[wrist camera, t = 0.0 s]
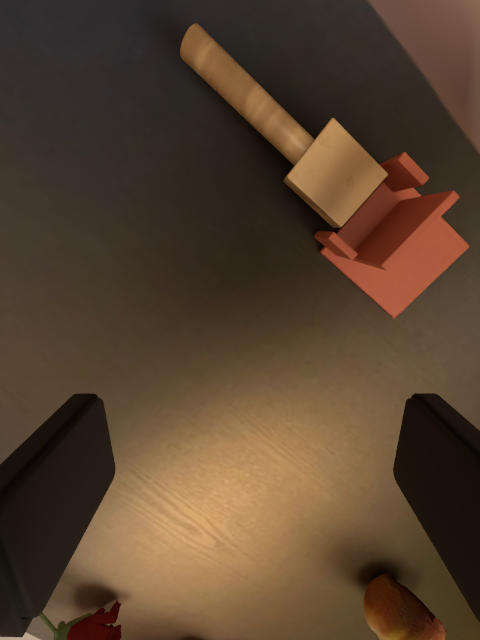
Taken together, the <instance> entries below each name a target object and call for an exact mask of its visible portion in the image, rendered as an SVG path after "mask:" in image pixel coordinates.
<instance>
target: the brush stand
mask: <svg viewBox="0 0 480 640" xmlns="http://www.w3.org/2000/svg"><path fill="white" fill-rule="evenodd" d="M379 165H380V166H381V167H382V168H383V169H384V170H385V171H386V172H387V173H388V176H387V177H386V178H385V179H384V180H383V181H382V182H381V183H380V185H379V186H378V187H377V188H376V189H375V190H374V191H373V193H372V194H371V195H370V196H369V197H368V198H367V199H366V200H365V202H364V203H363V204H362V205H361V206H360V207H359V208H358V209H357V211H356V212H355V213H354V214H353V215H352V216H351V217H350V218H349V220H348V221H347V222H346V223H345V224H344V225H343V226H342V227H341V228H340V229H339V230H338V231H337V232H336V233H335V232H327V231H318V232H317V234H316V235H315V236H314V237H315V238H316V239H317V240H318V241H319V242H320V243H321V244H322V245H323V246H324V247H323V248H322V249H321V250H320V253H321V254H322V255H323V256H324V257H325V258H327V259H328V260H329V261H330V262H331V263H332V264H333V265H334V266H336V267H337V268H338V269H339V270H340V271H341V272H342V273H343V274H344V275H346V276H347V277H348V278H349V279H350V280H351V281H352V282H353V283H354V284H356V285H357V286H358V287H359V288H360V289H361V290H362V291H363V292H365V293H366V294H367V295H368V296H369V297H370V298H371V299H372V300H373V301H375V302H376V303H377V304H378V305H379V306H380V307H381V308H382V309H383V310H385V311H386V312H387V313H388V314H389V315H390V316H391V317H393V318H395V317H396V316H397V315H398V314H399V313H400V312H402V311H403V310H404V309H405V308H406V307H407V306H408V305H409V304H410V303H411V302H412V301H413V300H414V299H415V298H416V297H417V296H418V295H419V294H420V293H421V292H422V291H424V290H425V289H426V288H427V287H428V286H429V285H430V284H431V283H432V282H433V281H434V280H435V279H436V278H437V277H438V276H439V275H440V274H441V273H442V272H443V271H444V270H446V269H447V268H448V267H449V266H450V265H451V264H452V263H453V262H454V261H455V260H456V259H457V258H458V257H459V256H460V255H461V254H462V253H463V252H464V251H465V250H466V249H467V248H469V245H468V244H467V243H466V242H465V241H464V240H463V239H462V238H461V237H460V236H459V235H458V234H457V233H456V232H455V230H454V229H453V228H452V227H451V226H450V225H449V224H448V223H447V222H446V221H445V220H444V219H443V218H442V217H441V216H442V215H443V214H444V213H445V212H446V211H447V210H448V209H449V208H450V207H451V206H452V205H453V204H454V203H455V201H456V200H457V199H458V198H459V195H458V194H457V193H456V192H455V191H448V192H443V193H437V194H432V195H426V196H421V195H420V194H419V193H418V192H417V191H416V190H415V189H414V188H413V187H418V186H422V185H423V184H424V183H425V182H426V181H427V180H428V179H429V177H428V176H427V175H426V174H425V173H424V172H423V171H422V169H421V168H420V167H419V166H418V165H417V164H416V163H415V162H414V161H413V160H412V159H411V158H410V157H409V156H408V155H407V154H406V153H405V152H403V153H401V154H399V155H397V156H395V157H393V158H391V159H389V160H387V161H385V162H383V163H380V164H379Z"/></svg>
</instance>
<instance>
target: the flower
mask: <svg viewBox="0 0 480 640" xmlns="http://www.w3.org/2000/svg"><path fill="white" fill-rule="evenodd" d="M120 605H121V604H120V603H119V602H118V601H116V602H115V603H114V605H113V606H112V608H111V610H110V611H109V612H105V613H104V611H105V609H104V608H100V609H99V610H98V611H97V612H95V613H88V614H86V615H84V616H82V617H79V618H77V619H74V620H72V621H70V622H68V623H67V624H65V622H64V621H62V622H60V623H59V624H58V629H56V628H55V627H54V626H53V624H52V623H51V622H50V621H49V620H48V619H47V618H46V616H45V615H44V614H43V613H42V612H41V613H40V615H39V616H40V617H41V619H42V620H43V621H44V622H45V623H46V624H47V625H48V627H49V628H50V629H51V630H52V631H53V632H54V640H120V639H121V625H118V626H115V627H113V625H112V624H111V623H115V622H116V620H117V617H118V613H119V608H120ZM92 614H94V615H92ZM106 624H110V626H108V625H106Z"/></svg>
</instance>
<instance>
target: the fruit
mask: <svg viewBox="0 0 480 640" xmlns="http://www.w3.org/2000/svg"><path fill="white" fill-rule="evenodd" d="M364 614H365V618H366V621H367V623H368V625H369V626H370V628H371V629H372V630H373V631H375V632H376V633H377V635H378V637H379V639H380V640H445V632H447V631H446V629H445V628H444V626H443V625H442V623H441V622H440V621H439V620H438V619H437V618H436V617H435V616H434V615H433V614H432V613H431V612H430V611H429V610H428V608H427V607H426V606H425V605H424V604H423V602H422V601H421V600H420V599H419V598H417V596H416V595H414V594H413V593H412V592H411V591H410V590H409V589H408V588H406V587H405V586H403V585H401V584H400V583H398V582H397V580H396V578H395V577H393V576H392V575H390V574H387V573H385V574H381V575H380V576H378V577H377V578H374V579H373V580H372V581H371V582H370V583H369V585H368V588H367V590H366V593H365V597H364Z"/></svg>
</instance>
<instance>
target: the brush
mask: <svg viewBox="0 0 480 640" xmlns="http://www.w3.org/2000/svg"><path fill="white" fill-rule="evenodd" d="M180 55H181V58H182V59H183V60H184V61H185V62H186V63H187V64H188V65H189V66H190V67H191V68H192V69H193V70H194V71H195V72H196V73H197V74H198V75H199V76H201V77H202V78H203V79H204V80H205V81H206V82H207V83H208V84H209V85H210V86H211V87H212V88H213V89H214V90H215V91H216V92H217V93H218V94H219V95H220V96H222V97H223V98H224V99H225V100H226V101H227V102H228V103H229V104H230V105H231V106H232V107H233V108H234V109H235V110H236V111H237V112H238V113H239V114H240V115H242V116H243V117H244V118H245V119H246V120H247V121H248V122H249V123H250V124H251V125H252V126H253V127H254V128H255V129H256V130H257V131H258V132H259V133H260V134H262V135H263V136H264V137H265V138H266V139H267V140H268V141H269V142H270V143H271V144H272V145H273V146H274V147H275V148H276V149H277V150H278V151H279V152H280V153H281V154H283V155H284V156H285V157H286V158H287V159H288V160H289V161H290V162H291V163H292V164H293V165H294V167H293V168H292V170H291V171H290V172H289V173H288V175H287V176H286V177H285V179H284V180H283V181H284V183H286V184H287V185H288V186H289V187H290V188H291V189H292V190H293V191H294V192H295V193H296V194H297V195H298V196H300V197H301V198H302V199H303V200H304V201H305V202H306V203H307V204H308V205H309V206H310V207H311V208H312V209H314V210H315V211H316V212H317V213H318V214H319V215H320V216H321V217H322V218H323V219H324V220H325V221H326V222H328V223H329V224H330V225H331V226H332V227H333V228H337V227H342V226H343V225H344V224H345V223H346V222H347V221H348V220H349V218H350V217H351V216H352V215H353V214H354V213H355V212H356V211H357V209H358V208H359V207H360V206H361V205H362V204H363V203H364V202H365V200H366V199H367V198H368V197H369V196H370V195H371V194H372V193H373V191H374V190H375V189H376V188H377V187H378V186H379V185H380V183H381V182H382V181H383V180H384V179H385V178H386V177H387V176H388V173H387V172H386V171H385V170H384V169H383V168H382V167H381V166H380V165H379V164H378V163H377V162H376V161H375V160H374V159H373V158H372V157H371V156H370V155H369V154H368V153H367V152H366V151H365V150H364V149H363V148H362V147H361V146H360V145H359V144H358V142H357V141H356V140H355V139H354V138H353V137H352V136H351V135H350V134H349V133H348V132H347V131H346V130H345V129H344V128H343V127H342V126H341V125H340V124H339V123H338V122H337V121H336V120H335V119H334V118H332V119H331V120H330V121H329V122H328V124H327V125H326V126H325V128H324V129H323V130H322V131H321V133H320V134H319V135H318V136H317V138H316V139H314V138H313V137H312V136H311V135H310V134H309V133H308V132H307V131H306V130H305V129H304V128H303V127H302V126H301V125H300V124H299V123H298V122H297V121H296V120H295V119H294V118H292V117H291V116H290V115H289V114H288V113H287V112H286V111H285V110H284V109H283V108H282V107H281V106H280V105H279V104H278V103H277V102H276V101H275V100H274V99H273V98H272V97H271V96H270V95H269V94H268V93H267V92H266V91H265V90H264V89H263V88H262V87H261V86H260V85H259V84H258V83H257V82H256V81H255V80H254V79H253V78H252V77H251V76H250V75H249V74H248V73H247V72H246V71H245V70H244V69H243V68H242V67H241V66H240V65H239V64H238V63H237V62H236V61H235V60H234V59H233V58H232V57H231V56H230V55H229V54H228V53H227V52H226V51H225V50H224V49H223V48H222V47H221V46H220V45H219V44H218V43H217V42H216V41H215V40H214V39H213V38H212V37H211V36H210V35H209V34H208V33H207V32H206V31H205V30H204V29H203V28H202V27H201V26H200V25H199V24H197V23H195V24H193V25H192V26H191V27H190V28H189V29H188V31H187V32H186V34H185V36H184V38H183V41H182V44H181V49H180Z"/></svg>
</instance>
